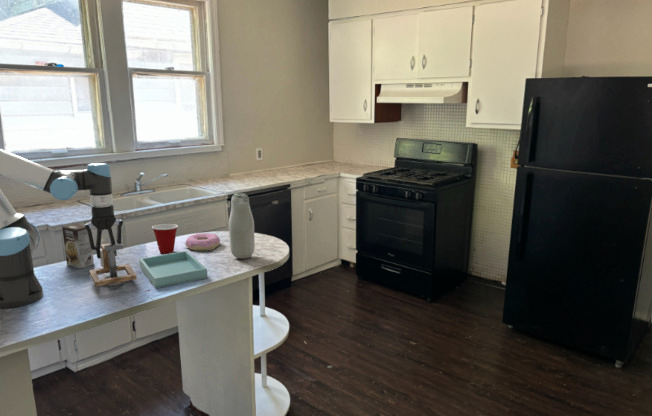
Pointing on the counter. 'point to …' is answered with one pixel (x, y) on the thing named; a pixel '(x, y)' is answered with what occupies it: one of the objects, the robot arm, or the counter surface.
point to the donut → (202, 241)
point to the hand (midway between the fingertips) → (107, 265)
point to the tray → (172, 269)
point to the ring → (105, 269)
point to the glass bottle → (241, 227)
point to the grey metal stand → (113, 263)
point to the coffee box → (77, 246)
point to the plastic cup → (165, 237)
